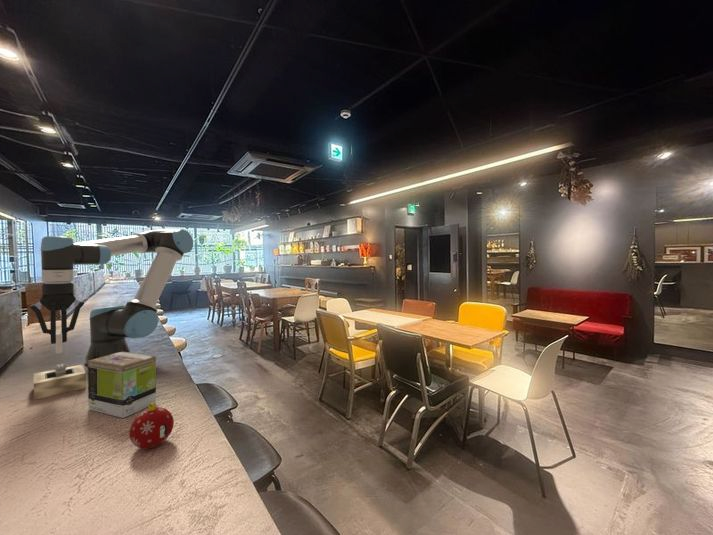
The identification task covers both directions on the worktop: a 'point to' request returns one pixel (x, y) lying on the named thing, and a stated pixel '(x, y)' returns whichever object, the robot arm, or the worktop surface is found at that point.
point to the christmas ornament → (151, 427)
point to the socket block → (59, 382)
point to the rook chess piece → (60, 369)
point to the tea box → (121, 383)
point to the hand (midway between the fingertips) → (59, 352)
